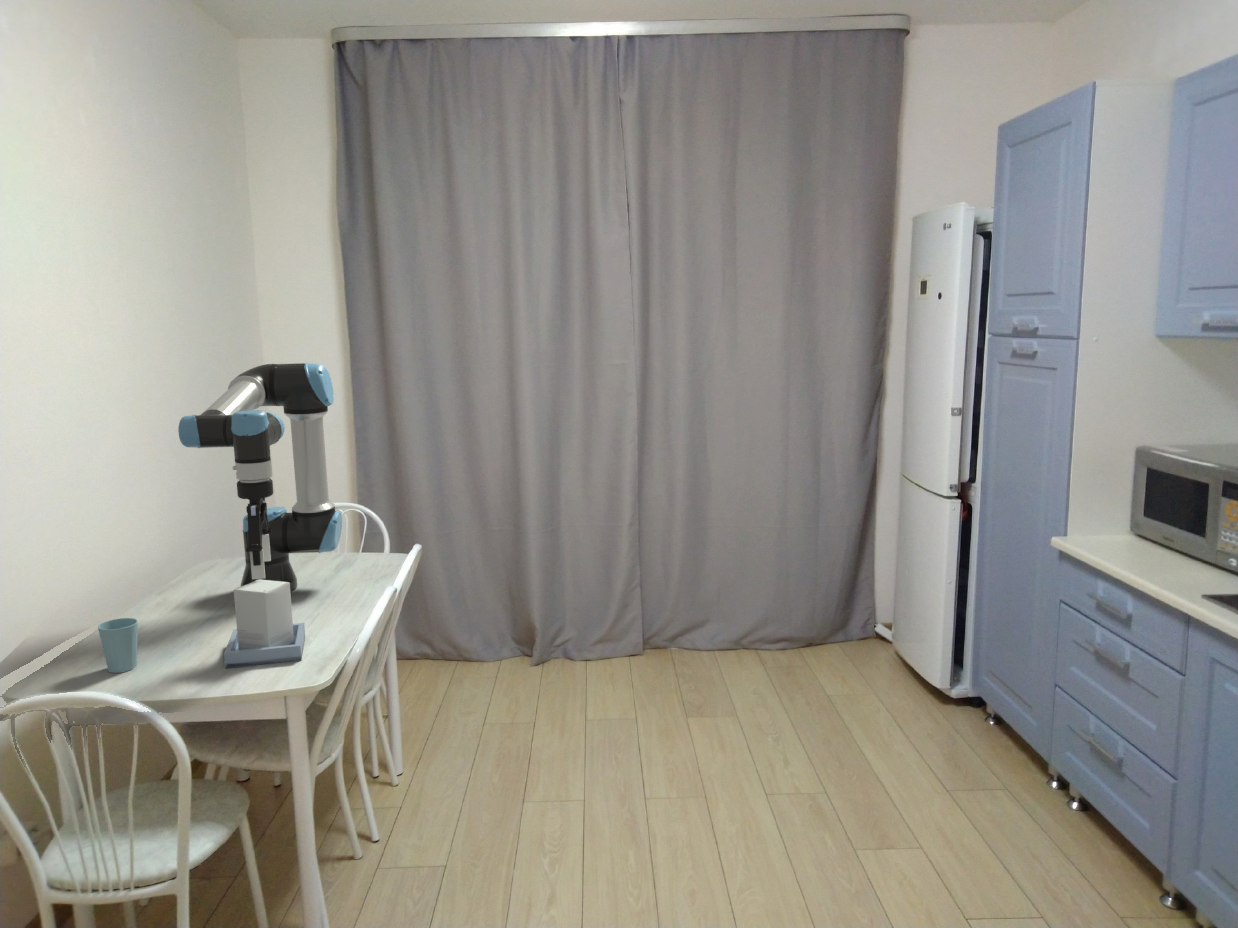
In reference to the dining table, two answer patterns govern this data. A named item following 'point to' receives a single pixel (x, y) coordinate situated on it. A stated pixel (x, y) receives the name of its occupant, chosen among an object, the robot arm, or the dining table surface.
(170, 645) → the dining table surface
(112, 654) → the cup
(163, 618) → the dining table surface
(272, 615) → the supplement box
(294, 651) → the bin
